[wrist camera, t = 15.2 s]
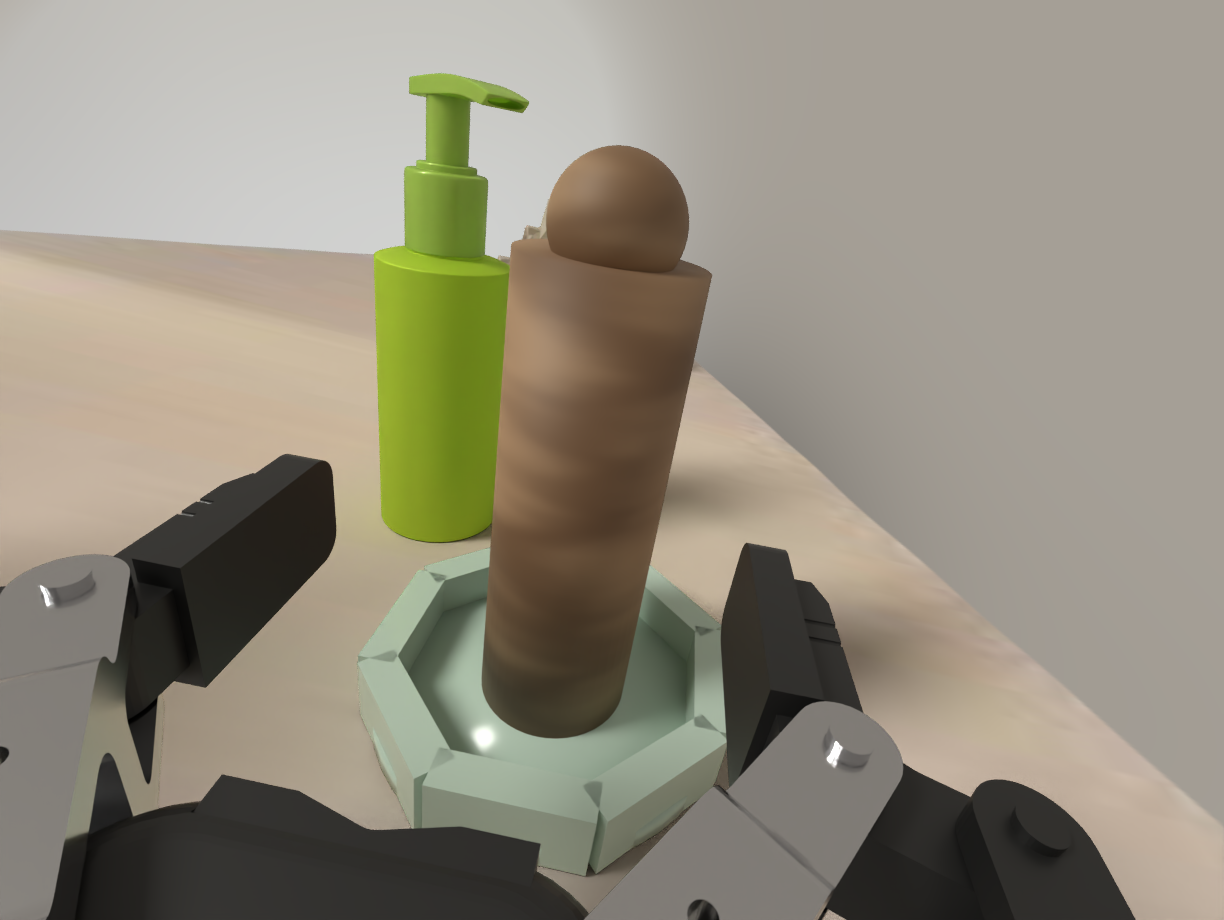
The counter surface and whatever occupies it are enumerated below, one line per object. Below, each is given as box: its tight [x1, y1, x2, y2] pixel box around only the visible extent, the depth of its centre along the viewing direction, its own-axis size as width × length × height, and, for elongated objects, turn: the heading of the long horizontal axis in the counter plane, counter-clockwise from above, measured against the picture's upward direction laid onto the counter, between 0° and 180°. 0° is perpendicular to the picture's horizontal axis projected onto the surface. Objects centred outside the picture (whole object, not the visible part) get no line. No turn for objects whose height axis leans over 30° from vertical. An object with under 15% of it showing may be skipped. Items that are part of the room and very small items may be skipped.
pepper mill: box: [481, 145, 712, 739], centre depth 18 cm, size 5×5×18 cm
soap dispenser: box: [374, 73, 529, 542], centre depth 28 cm, size 6×7×20 cm
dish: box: [357, 548, 727, 876], centre depth 22 cm, size 13×13×2 cm
